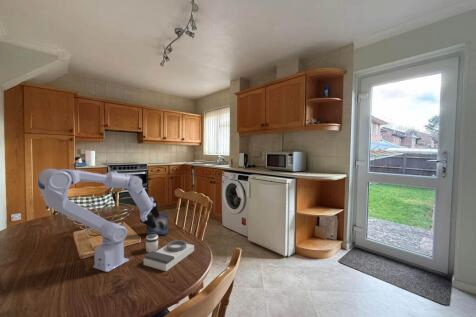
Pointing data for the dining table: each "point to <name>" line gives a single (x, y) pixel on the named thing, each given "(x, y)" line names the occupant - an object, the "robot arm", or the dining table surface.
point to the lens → (152, 243)
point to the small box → (159, 225)
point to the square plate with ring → (168, 255)
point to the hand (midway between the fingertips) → (155, 221)
